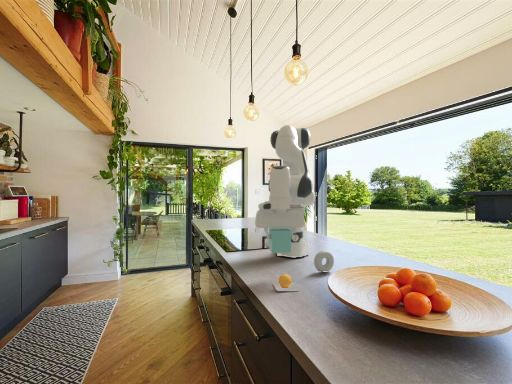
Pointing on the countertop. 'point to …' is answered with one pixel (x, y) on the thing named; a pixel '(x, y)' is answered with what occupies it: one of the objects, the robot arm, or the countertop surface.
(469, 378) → the countertop surface
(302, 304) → the countertop surface
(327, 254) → the donut
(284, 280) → the ball
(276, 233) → the teal cube
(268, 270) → the countertop surface
